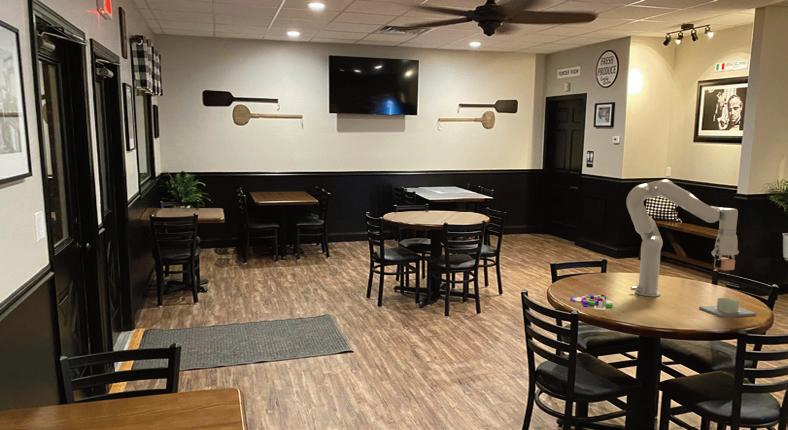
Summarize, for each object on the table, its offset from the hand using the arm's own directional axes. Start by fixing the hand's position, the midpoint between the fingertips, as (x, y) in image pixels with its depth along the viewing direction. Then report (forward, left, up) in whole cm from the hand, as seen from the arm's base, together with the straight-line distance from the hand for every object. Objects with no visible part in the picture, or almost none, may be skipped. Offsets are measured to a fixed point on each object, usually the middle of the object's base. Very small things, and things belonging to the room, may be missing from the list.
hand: (723, 266), depth 289 cm
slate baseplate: (-7, -13, -20) cm, 24 cm away
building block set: (-65, +13, -20) cm, 70 cm away
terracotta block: (0, 0, -1) cm, 1 cm away
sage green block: (-7, -13, -18) cm, 23 cm away
